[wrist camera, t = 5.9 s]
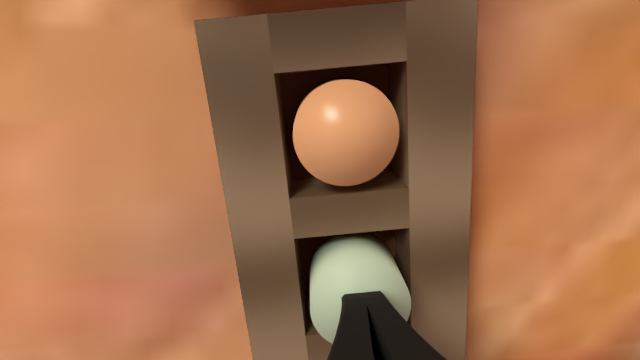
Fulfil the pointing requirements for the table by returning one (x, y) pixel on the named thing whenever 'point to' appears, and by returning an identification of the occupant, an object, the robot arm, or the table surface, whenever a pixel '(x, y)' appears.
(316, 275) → the sage button
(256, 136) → the button board
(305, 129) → the orange button
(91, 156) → the table surface
